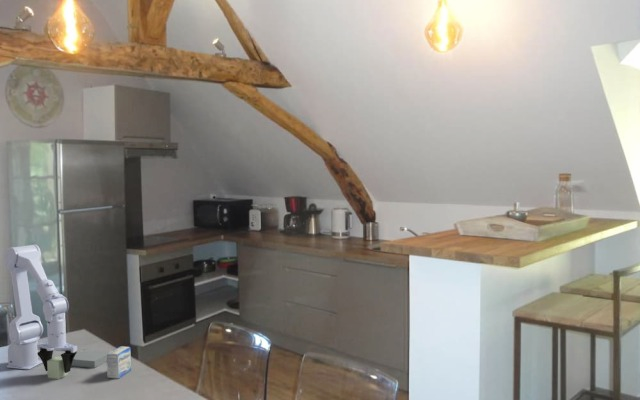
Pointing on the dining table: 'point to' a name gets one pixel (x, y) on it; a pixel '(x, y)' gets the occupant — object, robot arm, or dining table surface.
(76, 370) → the dining table surface
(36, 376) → the dining table surface
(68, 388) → the dining table surface
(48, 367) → the green block
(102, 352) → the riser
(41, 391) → the dining table surface
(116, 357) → the medicine box
